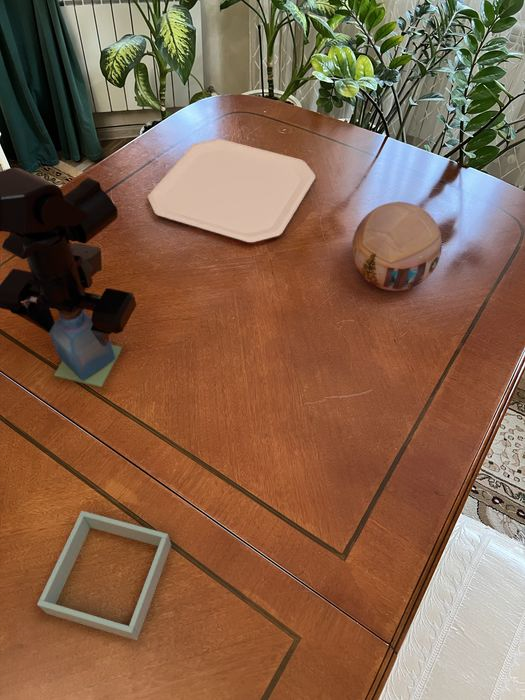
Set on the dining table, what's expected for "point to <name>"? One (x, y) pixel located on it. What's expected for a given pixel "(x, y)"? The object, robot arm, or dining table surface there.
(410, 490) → the dining table surface
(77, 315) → the perfume bottle
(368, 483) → the dining table surface
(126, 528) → the square frame
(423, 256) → the ornament
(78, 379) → the mat
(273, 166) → the plate
